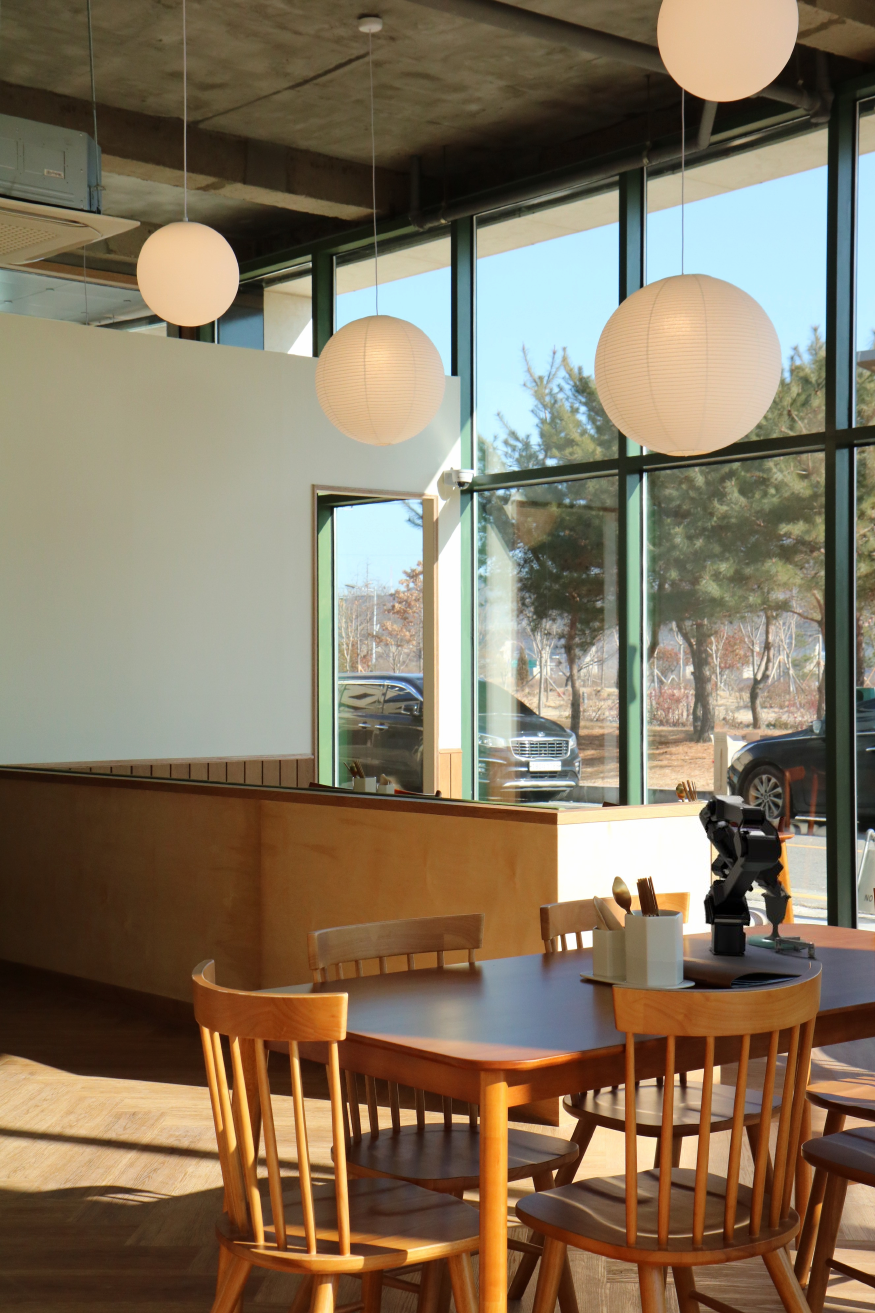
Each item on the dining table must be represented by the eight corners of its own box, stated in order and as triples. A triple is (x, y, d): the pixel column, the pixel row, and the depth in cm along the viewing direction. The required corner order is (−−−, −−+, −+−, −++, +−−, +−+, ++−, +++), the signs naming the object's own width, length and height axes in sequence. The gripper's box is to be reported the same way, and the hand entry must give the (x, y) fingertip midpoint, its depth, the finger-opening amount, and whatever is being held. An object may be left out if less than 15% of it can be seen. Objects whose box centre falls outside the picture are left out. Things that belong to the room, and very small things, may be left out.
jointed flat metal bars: (780, 956, 284) (781, 942, 285) (770, 948, 294) (770, 934, 295) (815, 958, 284) (815, 943, 284) (803, 950, 294) (804, 936, 294)
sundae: (776, 943, 296) (778, 875, 297) (753, 938, 302) (755, 871, 302) (796, 941, 300) (798, 874, 300) (773, 936, 305) (775, 871, 306)
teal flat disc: (753, 948, 294) (753, 943, 294) (741, 938, 307) (741, 933, 307) (812, 950, 294) (812, 946, 294) (797, 940, 307) (797, 936, 307)
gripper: (778, 823, 289) (815, 873, 294) (722, 815, 306) (758, 862, 310) (749, 860, 285) (786, 910, 290) (694, 850, 302) (730, 897, 306)
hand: (765, 893), depth 299 cm, fingers open, 9 cm apart
